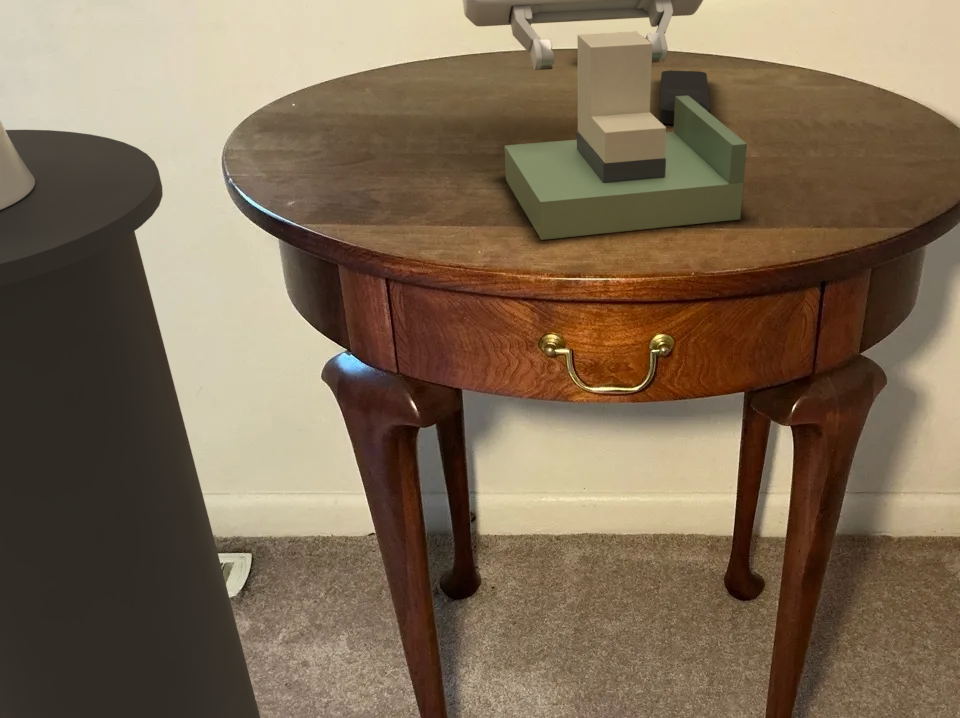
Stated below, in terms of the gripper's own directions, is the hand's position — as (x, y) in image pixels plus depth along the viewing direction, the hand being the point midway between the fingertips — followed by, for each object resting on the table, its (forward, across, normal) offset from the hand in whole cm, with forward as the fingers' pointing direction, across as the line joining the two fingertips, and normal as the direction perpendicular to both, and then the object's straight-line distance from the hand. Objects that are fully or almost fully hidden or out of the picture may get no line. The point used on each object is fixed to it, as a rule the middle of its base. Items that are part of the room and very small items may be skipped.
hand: (601, 62), depth 84 cm
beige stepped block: (+8, 0, +1) cm, 8 cm away
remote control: (-6, +14, +20) cm, 25 cm away
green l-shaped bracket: (+10, 0, +3) cm, 11 cm away
